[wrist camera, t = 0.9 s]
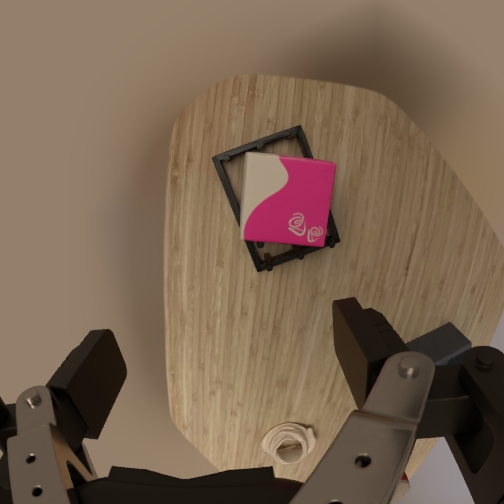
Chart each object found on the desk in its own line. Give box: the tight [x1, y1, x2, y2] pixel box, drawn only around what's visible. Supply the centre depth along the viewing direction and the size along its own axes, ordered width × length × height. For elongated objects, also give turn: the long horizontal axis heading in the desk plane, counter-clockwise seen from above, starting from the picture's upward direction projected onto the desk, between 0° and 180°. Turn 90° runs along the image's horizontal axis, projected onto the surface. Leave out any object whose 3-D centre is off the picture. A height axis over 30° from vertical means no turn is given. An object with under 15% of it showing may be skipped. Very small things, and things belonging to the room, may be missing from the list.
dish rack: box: [212, 125, 340, 272], centre depth 29 cm, size 12×9×4 cm
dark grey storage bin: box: [405, 322, 472, 365], centre depth 35 cm, size 11×11×6 cm
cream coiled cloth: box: [261, 423, 316, 464], centre depth 38 cm, size 8×7×5 cm
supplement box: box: [240, 152, 336, 247], centre depth 25 cm, size 6×6×12 cm
